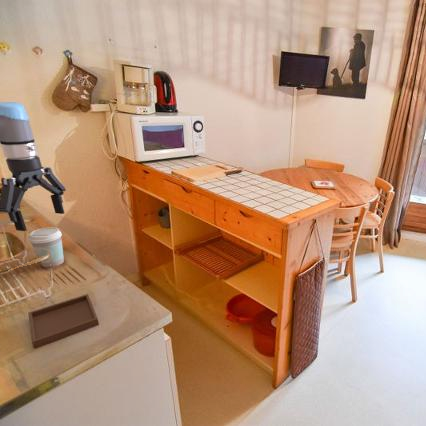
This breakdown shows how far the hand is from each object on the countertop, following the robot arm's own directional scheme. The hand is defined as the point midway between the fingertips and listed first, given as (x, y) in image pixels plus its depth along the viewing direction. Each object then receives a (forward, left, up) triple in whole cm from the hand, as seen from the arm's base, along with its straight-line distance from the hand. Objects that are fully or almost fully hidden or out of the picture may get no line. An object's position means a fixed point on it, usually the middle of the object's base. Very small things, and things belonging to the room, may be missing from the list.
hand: (42, 221), depth 103 cm
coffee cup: (0, 0, -16) cm, 16 cm away
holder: (+26, -24, -16) cm, 39 cm away
